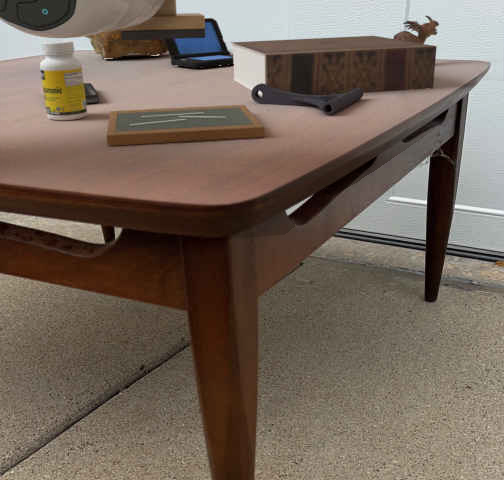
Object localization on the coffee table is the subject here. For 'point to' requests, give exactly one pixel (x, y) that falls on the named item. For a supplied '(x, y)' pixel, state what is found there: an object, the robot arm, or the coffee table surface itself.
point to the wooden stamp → (167, 25)
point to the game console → (200, 49)
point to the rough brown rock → (124, 45)
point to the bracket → (305, 98)
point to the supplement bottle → (62, 81)
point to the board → (182, 125)
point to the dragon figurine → (418, 31)
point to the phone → (90, 93)
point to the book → (335, 64)
